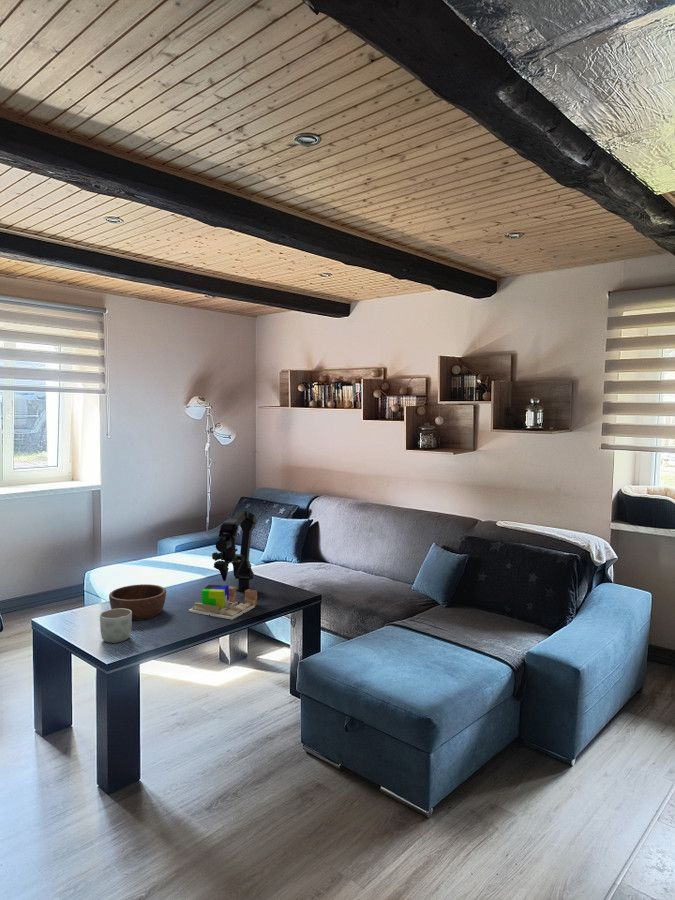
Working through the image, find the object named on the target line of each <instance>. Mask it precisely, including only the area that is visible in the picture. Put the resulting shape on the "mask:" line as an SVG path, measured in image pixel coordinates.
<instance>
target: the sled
mask: <svg viewBox="0 0 675 900" xmlns="http://www.w3.org/2000/svg"><path fill="white" fill-rule="evenodd" d="M228 586H229V606H227V607H225V608H223V609H221V610H219V606H214V605H208V604H202V602H194V604H193V605H194V606H192V608H193V610H197V611H203V612H208V613H214V614H221V613H223V612H225V611H227V610H229V609H231V608H233V607H235V606H237V605H238V604H239V603H238V601H237V591H236V589H237V587H236V586H231V585H228Z"/></svg>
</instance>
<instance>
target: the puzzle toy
mask: <svg viewBox="0 0 675 900" xmlns="http://www.w3.org/2000/svg"><path fill="white" fill-rule="evenodd" d="M229 586H230V585H222V584H221V585H220V584H207V586H206V587H204V588H203V589H202V590H201V603H202V604H208V605H214V606H219V610H221V609H223V608H225V607H227V606H229Z"/></svg>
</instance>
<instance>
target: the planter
mask: <svg viewBox="0 0 675 900" xmlns="http://www.w3.org/2000/svg"><path fill="white" fill-rule="evenodd" d="M132 625H133V620H132V611H131V610H129V609H123V608H119V609H111V608H110V609H108V610H104V611H102V612H101V613H100V614H99V627H100V634H101V635H100V637H101V639H102V640H103V641H104V642H106V643H109V644H110V643H111V644H115V643H122V642H125V641H127V640H128V639H129V638H130V637H131V634H132V627H133V626H132Z"/></svg>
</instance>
